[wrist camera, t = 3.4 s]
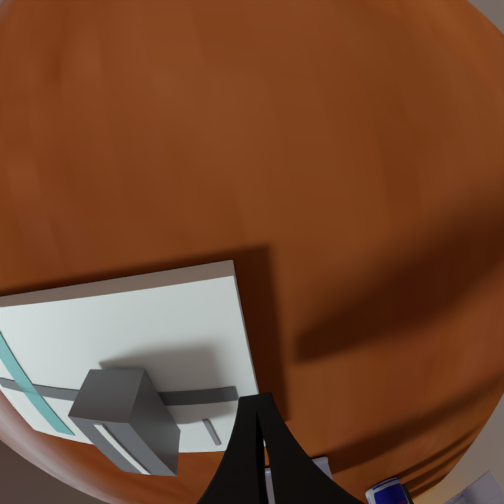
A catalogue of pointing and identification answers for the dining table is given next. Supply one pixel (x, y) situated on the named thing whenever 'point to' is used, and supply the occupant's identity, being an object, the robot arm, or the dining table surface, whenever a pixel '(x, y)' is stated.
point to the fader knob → (127, 421)
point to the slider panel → (132, 348)
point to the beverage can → (387, 493)
